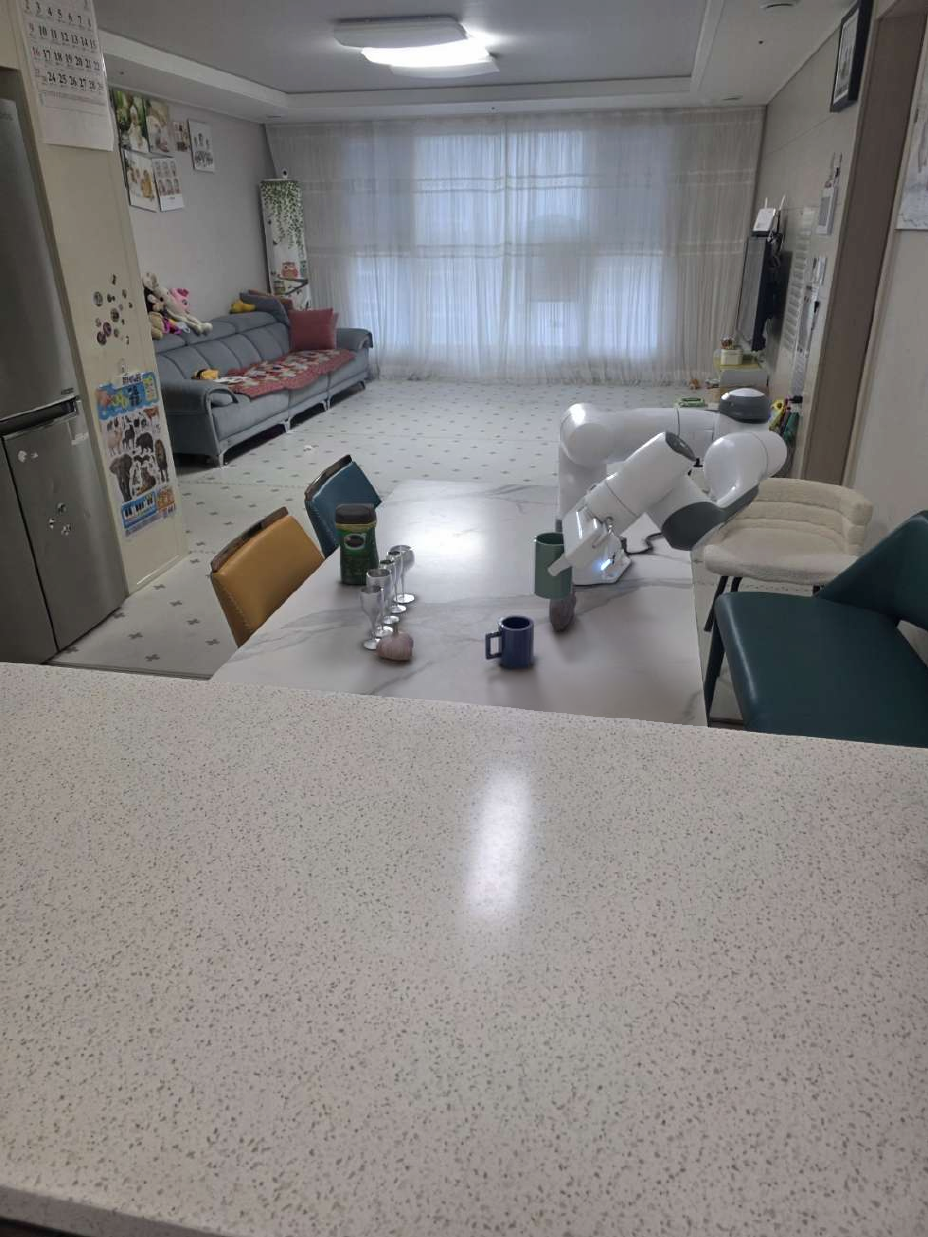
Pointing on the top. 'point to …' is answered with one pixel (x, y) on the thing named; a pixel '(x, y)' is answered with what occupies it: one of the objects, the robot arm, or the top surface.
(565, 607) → the perforated stone tool
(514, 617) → the mug
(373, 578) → the goblet set
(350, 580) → the coffee jar
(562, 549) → the green cup
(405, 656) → the garlic bulb
